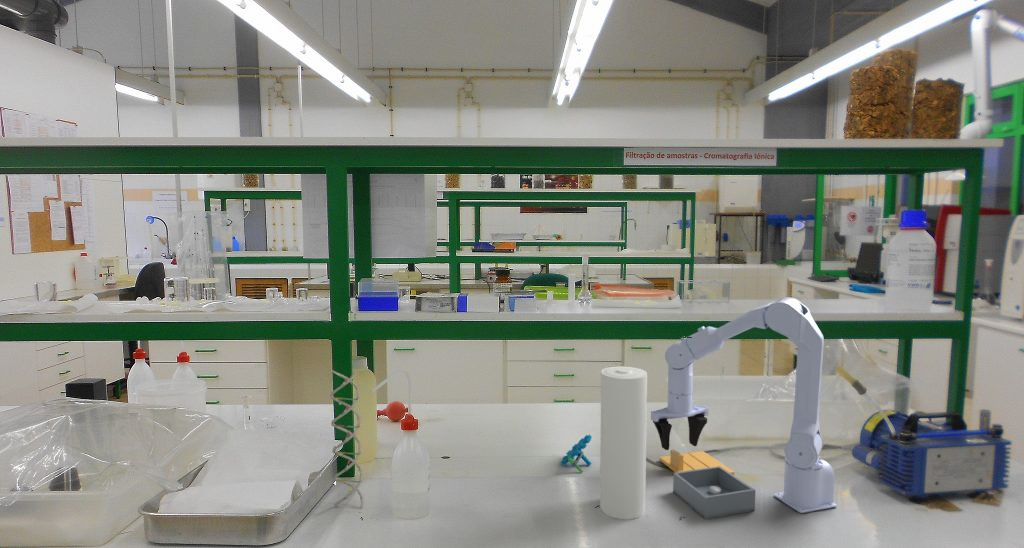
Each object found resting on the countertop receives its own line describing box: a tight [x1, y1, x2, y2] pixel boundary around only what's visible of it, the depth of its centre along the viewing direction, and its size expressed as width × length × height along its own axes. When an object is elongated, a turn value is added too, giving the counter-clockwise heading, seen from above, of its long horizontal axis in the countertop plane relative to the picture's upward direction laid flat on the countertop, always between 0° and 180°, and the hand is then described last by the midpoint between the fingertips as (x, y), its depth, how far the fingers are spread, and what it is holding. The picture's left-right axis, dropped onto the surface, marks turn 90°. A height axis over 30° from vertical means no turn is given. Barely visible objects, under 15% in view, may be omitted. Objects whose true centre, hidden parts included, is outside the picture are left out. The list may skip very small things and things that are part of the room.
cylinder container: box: [599, 365, 648, 520], centre depth 120 cm, size 9×9×30 cm
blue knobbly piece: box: [560, 434, 592, 474], centre depth 142 cm, size 11×6×10 cm
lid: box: [658, 449, 735, 476], centre depth 139 cm, size 13×13×5 cm
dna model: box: [329, 369, 364, 509], centre depth 121 cm, size 7×6×30 cm
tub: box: [672, 466, 756, 520], centre depth 123 cm, size 12×12×4 cm
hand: (679, 446), depth 138 cm, fingers open, 7 cm apart
